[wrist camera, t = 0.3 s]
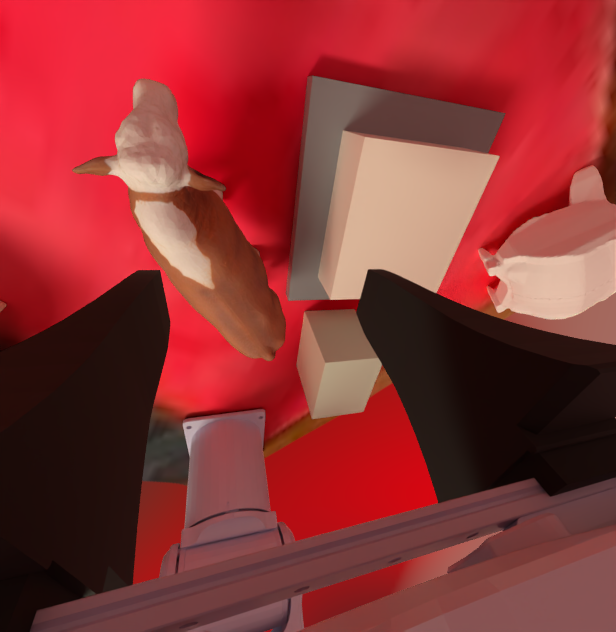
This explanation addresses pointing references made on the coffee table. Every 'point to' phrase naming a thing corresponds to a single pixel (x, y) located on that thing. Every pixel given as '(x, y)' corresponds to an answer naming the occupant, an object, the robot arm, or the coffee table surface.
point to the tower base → (362, 116)
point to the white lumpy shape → (559, 256)
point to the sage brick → (335, 363)
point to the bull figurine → (191, 225)
